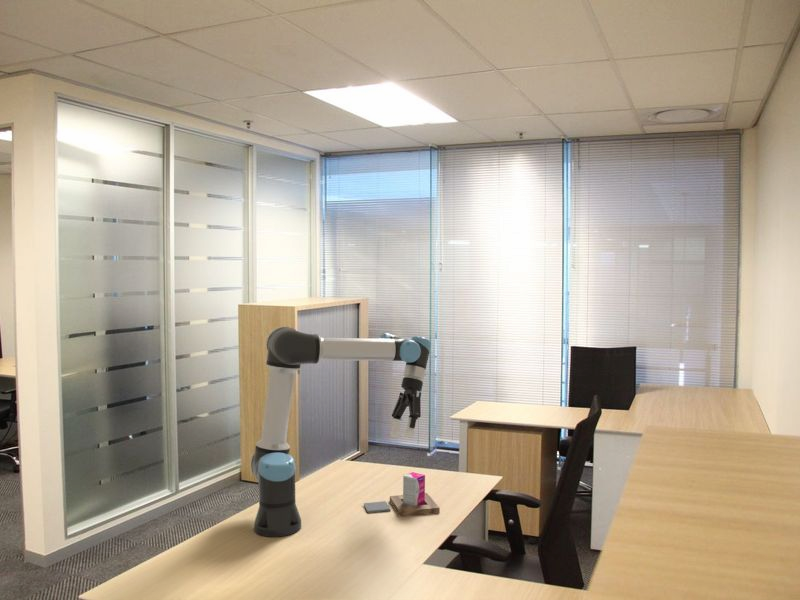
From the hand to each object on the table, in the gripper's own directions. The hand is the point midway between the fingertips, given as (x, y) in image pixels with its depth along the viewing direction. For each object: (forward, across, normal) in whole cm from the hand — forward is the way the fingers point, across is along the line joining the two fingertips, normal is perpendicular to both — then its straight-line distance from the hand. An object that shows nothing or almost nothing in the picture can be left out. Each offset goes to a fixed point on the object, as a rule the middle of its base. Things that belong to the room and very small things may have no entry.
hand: (401, 437), depth 247 cm
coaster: (+25, +5, +1) cm, 26 cm away
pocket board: (+22, +1, -11) cm, 25 cm away
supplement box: (+22, +1, -11) cm, 25 cm away
